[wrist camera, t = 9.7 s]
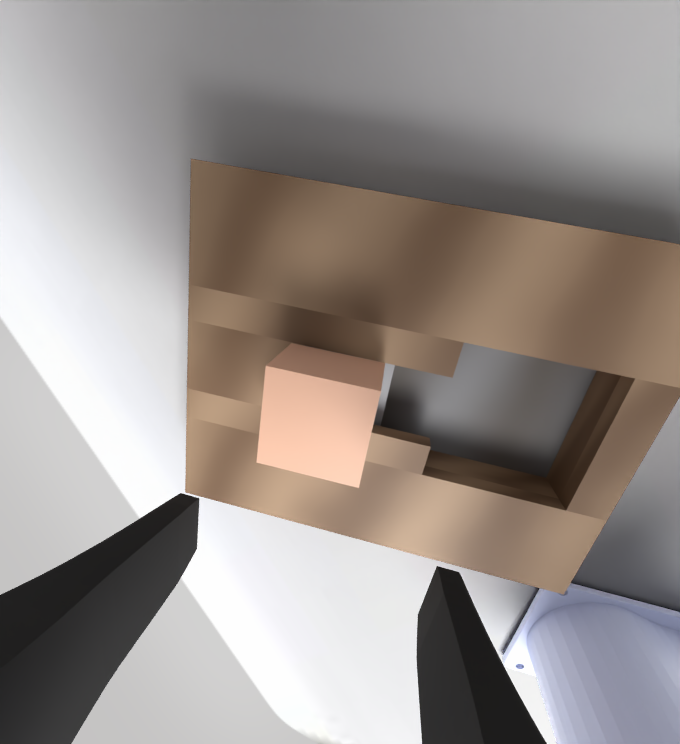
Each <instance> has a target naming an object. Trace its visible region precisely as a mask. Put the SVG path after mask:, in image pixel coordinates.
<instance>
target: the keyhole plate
mask: <svg viewBox="0 0 680 744" xmlns="http://www.w3.org/2000/svg"><path fill="white" fill-rule="evenodd" d="M291 343H294V344H298V345H303V346H304V345H306V346H311V347H315V348H320V349H324V350H329V351H333V352H338V353H342V354H347V355H351V356H356V357H360V358H365V359H369V360H374V361H378V362H383V363H387V364H392V365H395V367H394V371H393V375H392V379H391V384H390V388H389V392H388V396H387V400H386V405H385V409H384V413H383V417H382V421H381V425H380V426H378V425H374V424H373V428H372V433H371V437H370V441H369V446H368V450H367V454H366V459H365V463H364V467H363V472H362V476H361V480H360V485H359V488H357V487H353V486H349V485H345V484H341V483H337V482H333V481H329V480H325V479H321V478H317V477H313V476H309V475H305V474H301V473H297V472H293V471H289V470H285V469H281V468H277V467H273V466H269V465H265V464H261V463H257V452H258V441H259V431H260V420H261V410H262V399H263V389H264V379H265V368H266V365H267V364H268V363H269V362H271V361H272V360H273V359H274V358H275V357H276V356H277V355H278V354H280V353H281V352H282V351H283V350H284V349H285V348H286V347H288V346H289V345H290V344H291ZM679 397H680V244H676V243H670V242H664V241H659V240H653V239H647V238H642V237H636V236H630V235H624V234H619V233H613V232H607V231H602V230H596V229H590V228H584V227H579V226H573V225H567V224H561V223H556V222H550V221H544V220H539V219H533V218H527V217H521V216H516V215H510V214H504V213H499V212H493V211H487V210H481V209H476V208H470V207H464V206H459V205H453V204H447V203H441V202H436V201H430V200H424V199H419V198H413V197H407V196H401V195H396V194H390V193H384V192H379V191H373V190H367V189H361V188H356V187H350V186H344V185H339V184H333V183H327V182H321V181H316V180H310V179H304V178H299V177H293V176H287V175H281V174H276V173H270V172H264V171H258V170H253V169H247V168H241V167H236V166H230V165H224V164H218V163H213V162H207V161H201V160H196V159H191V186H190V246H189V305H188V365H187V425H186V484H185V492H186V493H190V494H194V495H197V496H201V497H205V498H208V499H212V500H216V501H220V502H223V503H227V504H231V505H234V506H238V507H242V508H245V509H249V510H253V511H257V512H260V513H264V514H268V515H271V516H275V517H279V518H282V519H286V520H290V521H293V522H297V523H301V524H305V525H308V526H312V527H316V528H319V529H323V530H327V531H330V532H334V533H338V534H342V535H345V536H349V537H353V538H356V539H360V540H364V541H367V542H371V543H375V544H378V545H382V546H386V547H390V548H393V549H397V550H401V551H404V552H408V553H412V554H415V555H419V556H423V557H427V558H430V559H434V560H438V561H441V562H445V563H449V564H452V565H456V566H460V567H464V568H467V569H471V570H475V571H478V572H482V573H486V574H489V575H493V576H497V577H500V578H504V579H508V580H512V581H515V582H519V583H523V584H526V585H530V586H534V587H537V588H541V589H545V590H549V591H552V592H556V593H560V594H563V595H564V593H565V592H566V590H567V588H568V587H569V585H570V583H571V581H572V580H573V578H574V576H575V575H576V573H577V571H578V569H579V568H580V566H581V564H582V563H583V561H584V559H585V558H586V556H587V554H588V552H589V551H590V549H591V547H592V546H593V544H594V542H595V540H596V539H597V537H598V535H599V534H600V532H601V530H602V529H603V527H604V525H605V523H606V522H607V520H608V518H609V517H610V515H611V513H612V511H613V510H614V508H615V506H616V505H617V503H618V501H619V499H620V498H621V496H622V494H623V493H624V491H625V489H626V488H627V486H628V484H629V482H630V481H631V479H632V477H633V476H634V474H635V472H636V470H637V469H638V467H639V465H640V464H641V462H642V460H643V459H644V457H645V455H646V453H647V452H648V450H649V448H650V447H651V445H652V443H653V441H654V440H655V438H656V436H657V435H658V433H659V431H660V429H661V428H662V426H663V424H664V423H665V421H666V419H667V418H668V416H669V414H670V412H671V411H672V409H673V407H674V406H675V404H676V402H677V400H678V399H679Z"/></svg>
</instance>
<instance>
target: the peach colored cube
mask: <svg viewBox="0 0 680 744" xmlns="http://www.w3.org/2000/svg"><path fill="white" fill-rule="evenodd" d="M394 367H395V365H392V364H387V363H383V362H378V361H374V360H369V359H365V358H360V357H356V356H351V355H347V354H342V353H338V352H333V351H329V350H324V349H320V348H315V347H311V346H306V345H304V346H303V345H298V344H294V343H291V344H290V345H289V346H288V347H286V348H285V349H284V350H283V351H282V352H281V353H280V354H278V355H277V356H276V357H275V358H274V359H273V360H272V361H271V362H269V363H268V364H267V365H266V368H265V379H264V389H263V399H262V410H261V420H260V431H259V441H258V452H257V463H261V464H265V465H269V466H273V467H277V468H281V469H285V470H289V471H293V472H297V473H301V474H305V475H309V476H313V477H317V478H321V479H325V480H329V481H333V482H337V483H341V484H345V485H349V486H353V487H357V488H359V485H360V480H361V476H362V472H363V467H364V463H365V459H366V454H367V450H368V446H369V441H370V437H371V433H372V428H373V424H374V425H378V426H380V425H381V421H382V417H383V413H384V409H385V405H386V400H387V396H388V392H389V388H390V384H391V379H392V375H393V371H394Z"/></svg>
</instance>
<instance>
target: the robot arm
mask: <svg viewBox="0 0 680 744" xmlns="http://www.w3.org/2000/svg"><path fill="white" fill-rule="evenodd" d="M198 513H199V498H195V497H192V496H188V495H185V494H181V493H180V494H178V495H177V496H175V497H173V498H172V499H170V500H169V501H167V502H165V503H164V504H162V505H161V506H159V507H158V508H156V509H154V510H153V511H151V512H150V513H148V514H146V515H145V516H143V517H142V518H140V519H138V520H137V521H135V522H134V523H132V524H130V525H129V526H127V527H126V528H124V529H123V530H121V531H119V532H117V533H116V534H114V535H112V536H111V537H109V538H107V539H106V540H104V541H103V542H101V543H99V544H97V545H96V546H94V547H92V548H90V549H88V550H86V551H85V552H83V553H81V554H79V555H78V556H76V557H74V558H72V559H70V560H69V561H67V562H65V563H63V564H61V565H59V566H58V567H56V568H54V569H52V570H50V571H48V572H46V573H44V574H42V575H40V576H38V577H36V578H34V579H32V580H30V581H28V582H26V583H24V584H22V585H20V586H18V587H16V588H14V589H12V590H10V591H8V592H5V593H4V594H1V595H0V744H71V743H72V742H73V740H74V738H75V736H76V735H77V733H78V731H79V730H80V728H81V726H82V725H83V723H84V721H85V720H86V718H87V716H88V715H89V713H90V711H91V710H92V708H93V706H94V705H95V703H96V701H97V700H98V698H99V697H100V695H101V693H102V691H103V690H104V688H105V687H106V685H107V684H108V682H109V680H110V679H111V678H112V676H113V674H114V673H115V671H116V670H117V668H118V667H119V665H120V664H121V662H122V661H123V660H124V658H125V657H126V656H127V654H128V653H129V651H130V650H131V649H132V647H133V646H134V644H135V643H136V641H137V640H138V638H139V637H140V636H141V634H142V633H143V632H144V630H145V629H146V627H147V626H148V625H149V623H150V622H151V620H152V619H153V617H154V616H155V615H156V613H157V612H158V610H159V609H160V608H161V606H162V605H163V603H164V602H165V600H166V599H167V598H168V596H169V595H170V593H171V592H172V590H173V589H174V588H175V586H176V584H177V583H178V581H179V580H180V578H181V576H182V575H183V573H184V571H185V569H186V568H187V566H188V564H189V562H190V560H191V558H192V557H193V555H194V553H195V551H196V549H197V534H198ZM503 662H504V665H505V666H506V667H508V668H510V669H513V670H517V671H520V672H524V673H527V674H530V675H534V676H536V679H537V682H538V685H539V688H540V691H541V695H542V698H543V701H544V704H545V708H546V711H547V714H548V717H549V721H550V724H551V727H552V730H553V734H554V737H555V740H556V743H557V744H680V612H678V611H674V610H670V609H666V608H663V607H659V606H655V605H651V604H648V603H644V602H640V601H636V600H633V599H629V598H625V597H621V596H618V595H614V594H610V593H606V592H603V591H599V590H595V589H591V588H588V587H584V586H580V585H576V584H573V583H570V585H569V587H568V588H567V590H566V592H565V593H564V595H563V594H560V593H556V592H552V591H549V590H545V589H541V588H540V589H539V591H538V593H537V594H536V596H535V598H534V600H533V602H532V604H531V605H530V607H529V609H528V611H527V613H526V615H525V616H524V618H523V620H522V622H521V624H520V626H519V627H518V629H517V631H516V633H515V635H514V637H513V638H512V640H511V642H510V644H509V646H508V648H507V649H506V651H505V653H504V655H503ZM417 672H418V687H419V703H420V717H421V732H422V744H547V743H546V742H545V740H544V738H543V737H542V735H541V733H540V731H539V730H538V728H537V726H536V725H535V723H534V721H533V719H532V718H531V716H530V714H529V712H528V710H527V709H526V707H525V705H524V703H523V701H522V700H521V698H520V696H519V694H518V692H517V690H516V689H515V687H514V685H513V683H512V681H511V679H510V677H509V675H508V674H507V672H506V670H505V668H504V666H503V664H502V662H501V660H500V658H499V656H498V654H497V652H496V650H495V648H494V646H493V644H492V642H491V640H490V638H489V636H488V634H487V632H486V630H485V628H484V625H483V623H482V621H481V619H480V617H479V615H478V613H477V610H476V608H475V606H474V604H473V602H472V599H471V597H470V595H469V593H468V590H467V588H466V586H465V584H464V581H463V579H462V577H461V575H460V573H459V572H456V571H453V570H449V569H445V568H442V567H438V566H437V567H436V570H435V573H434V575H433V578H432V580H431V583H430V585H429V588H428V591H427V593H426V596H425V598H424V601H423V603H422V606H421V608H420V611H419V614H418V627H417Z"/></svg>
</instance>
